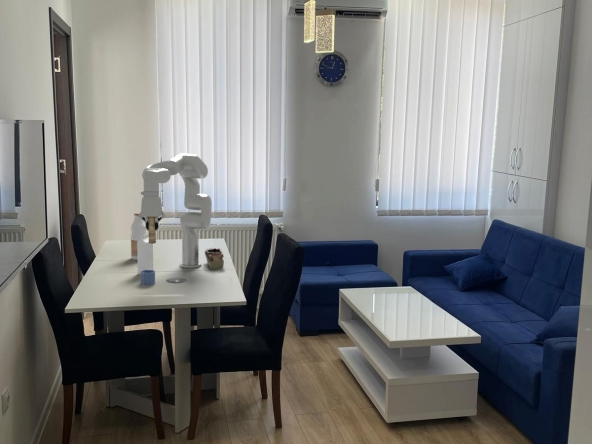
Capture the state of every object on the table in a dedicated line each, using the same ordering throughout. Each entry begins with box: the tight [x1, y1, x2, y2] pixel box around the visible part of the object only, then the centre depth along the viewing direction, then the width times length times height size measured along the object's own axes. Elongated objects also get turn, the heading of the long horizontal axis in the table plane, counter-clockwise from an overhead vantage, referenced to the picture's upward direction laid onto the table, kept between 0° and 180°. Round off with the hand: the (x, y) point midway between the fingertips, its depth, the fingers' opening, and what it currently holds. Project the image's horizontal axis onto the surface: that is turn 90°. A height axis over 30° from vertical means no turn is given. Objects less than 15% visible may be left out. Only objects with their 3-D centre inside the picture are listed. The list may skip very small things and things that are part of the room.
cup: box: [140, 269, 156, 286], centre depth 318 cm, size 7×7×7 cm
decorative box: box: [204, 247, 225, 270], centre depth 361 cm, size 13×20×10 cm, turn 11°
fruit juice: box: [130, 212, 148, 261], centre depth 372 cm, size 9×9×28 cm
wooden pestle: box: [147, 217, 157, 245], centre depth 314 cm, size 4×4×18 cm
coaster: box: [165, 277, 188, 284], centre depth 325 cm, size 11×11×1 cm
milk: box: [137, 234, 154, 275], centre depth 336 cm, size 6×6×22 cm
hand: (152, 229), depth 315 cm, fingers closed on wooden pestle, 3 cm apart
